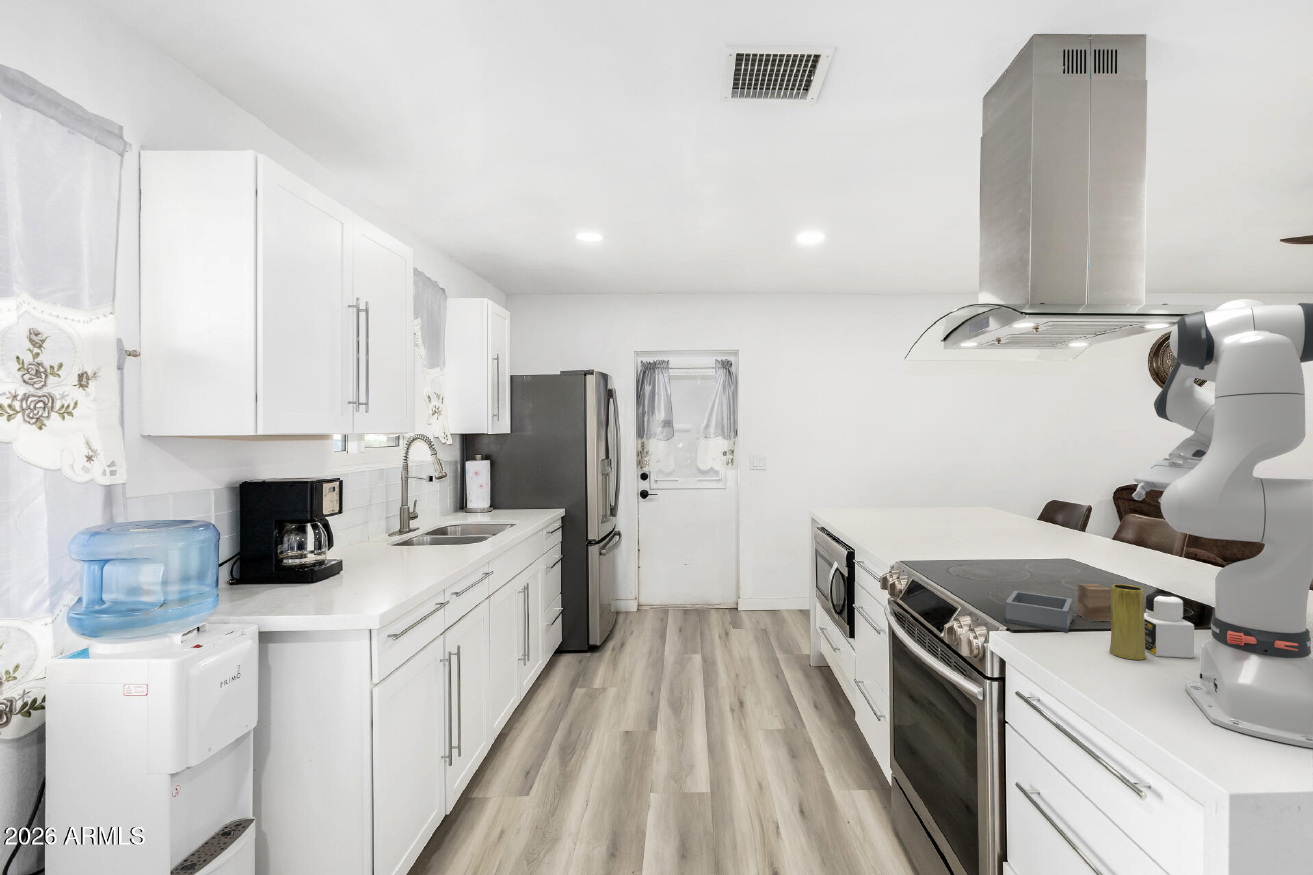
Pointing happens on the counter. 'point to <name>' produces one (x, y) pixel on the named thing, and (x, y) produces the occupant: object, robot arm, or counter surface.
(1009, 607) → the bin
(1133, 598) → the vase
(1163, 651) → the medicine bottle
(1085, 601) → the block
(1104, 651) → the counter surface
